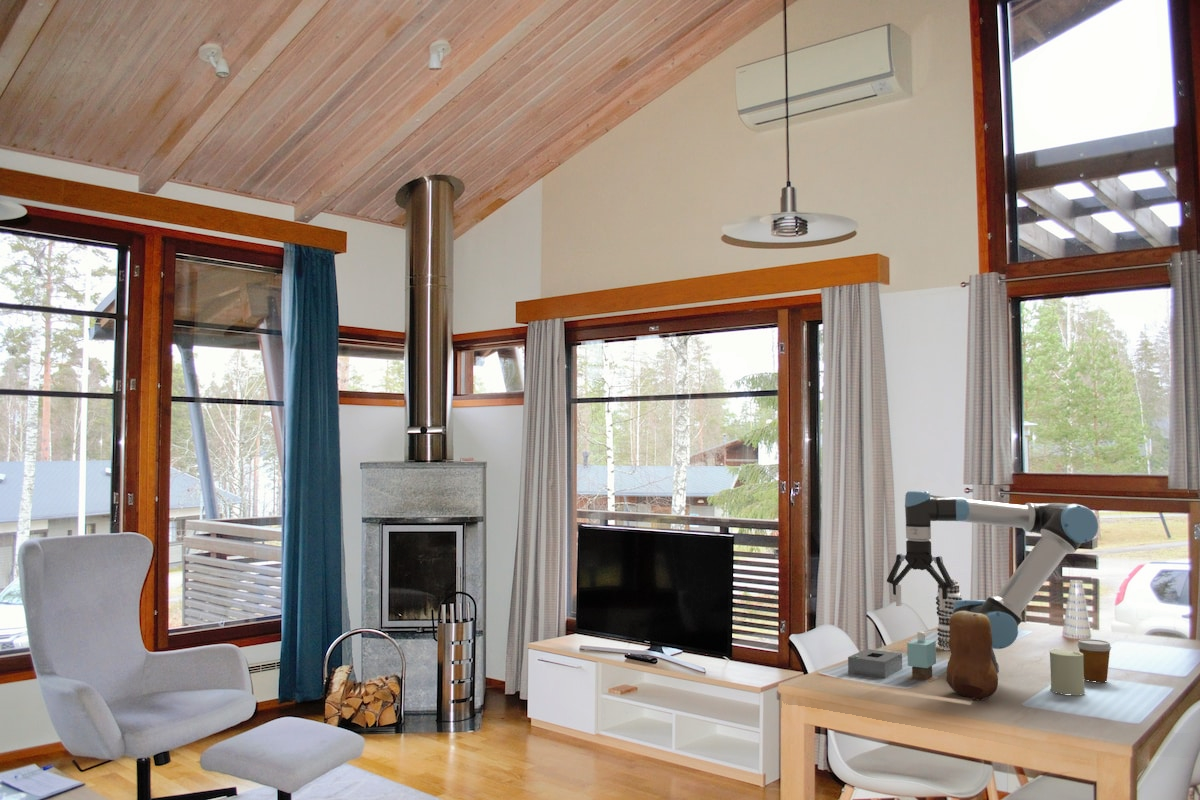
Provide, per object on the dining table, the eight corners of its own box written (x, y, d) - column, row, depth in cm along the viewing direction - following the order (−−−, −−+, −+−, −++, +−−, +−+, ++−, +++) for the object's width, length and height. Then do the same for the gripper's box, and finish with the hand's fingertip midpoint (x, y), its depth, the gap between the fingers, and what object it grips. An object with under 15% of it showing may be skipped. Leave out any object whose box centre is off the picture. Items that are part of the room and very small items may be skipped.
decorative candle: (965, 647, 339) (964, 579, 341) (960, 652, 331) (958, 582, 333) (940, 645, 344) (938, 577, 346) (934, 649, 336) (932, 580, 338)
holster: (939, 680, 289) (938, 665, 289) (931, 684, 283) (931, 670, 283) (913, 676, 294) (913, 662, 294) (905, 681, 287) (905, 666, 288)
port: (902, 672, 300) (901, 652, 300) (885, 681, 287) (884, 660, 288) (866, 667, 307) (866, 648, 308) (848, 676, 294) (847, 656, 295)
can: (1083, 697, 268) (1082, 655, 269) (1048, 693, 273) (1047, 652, 273) (1086, 690, 276) (1084, 650, 276) (1052, 686, 280) (1051, 646, 281)
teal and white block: (936, 676, 290) (935, 631, 291) (927, 681, 283) (926, 635, 284) (917, 673, 294) (916, 629, 295) (908, 678, 286) (907, 633, 287)
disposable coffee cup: (1100, 685, 282) (1098, 645, 283) (1071, 679, 290) (1070, 640, 291) (1119, 682, 286) (1118, 643, 287) (1090, 675, 295) (1089, 637, 295)
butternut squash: (993, 694, 272) (991, 608, 273) (1002, 705, 259) (1000, 615, 260) (943, 691, 275) (941, 606, 276) (950, 702, 262) (948, 614, 263)
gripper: (875, 538, 296) (877, 605, 294) (955, 542, 281) (957, 613, 279) (884, 537, 302) (885, 602, 300) (962, 541, 287) (964, 609, 285)
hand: (920, 607), depth 290 cm, fingers open, 13 cm apart
